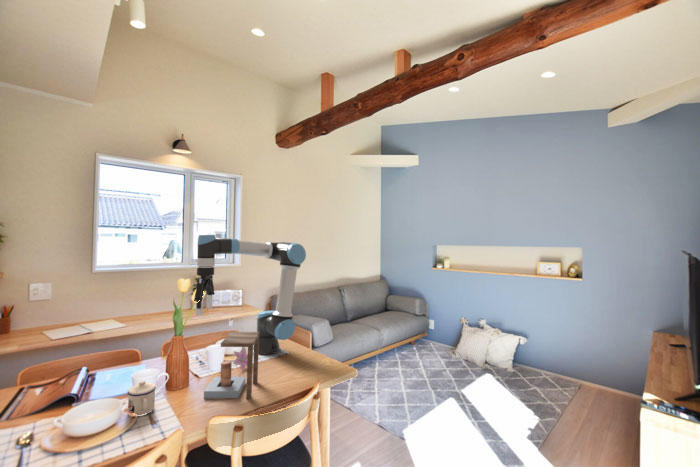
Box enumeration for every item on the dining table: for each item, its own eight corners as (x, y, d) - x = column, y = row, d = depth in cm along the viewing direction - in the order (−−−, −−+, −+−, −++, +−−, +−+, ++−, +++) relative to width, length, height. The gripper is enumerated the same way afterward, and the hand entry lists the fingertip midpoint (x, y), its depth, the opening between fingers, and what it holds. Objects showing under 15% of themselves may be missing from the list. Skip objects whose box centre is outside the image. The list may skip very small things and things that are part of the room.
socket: (214, 383, 154) (214, 376, 154) (245, 383, 156) (245, 376, 156) (203, 398, 140) (203, 391, 140) (237, 398, 142) (238, 391, 142)
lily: (228, 376, 165) (237, 360, 164) (224, 359, 174) (232, 344, 173) (250, 377, 172) (259, 362, 171) (245, 361, 181) (253, 347, 180)
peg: (221, 388, 150) (222, 361, 150) (231, 388, 150) (232, 361, 150) (218, 392, 146) (219, 365, 145) (229, 392, 146) (230, 365, 146)
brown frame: (229, 382, 156) (230, 331, 156) (257, 382, 157) (259, 332, 157) (218, 399, 140) (220, 343, 140) (250, 399, 141) (252, 343, 141)
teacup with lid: (125, 410, 129) (126, 380, 129) (152, 403, 135) (153, 374, 135) (130, 424, 120) (131, 392, 120) (159, 416, 126) (160, 385, 126)
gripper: (206, 264, 170) (205, 305, 171) (187, 269, 146) (185, 318, 146) (221, 264, 171) (220, 305, 171) (205, 270, 146) (203, 318, 146)
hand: (204, 311), depth 158 cm, fingers open, 13 cm apart
